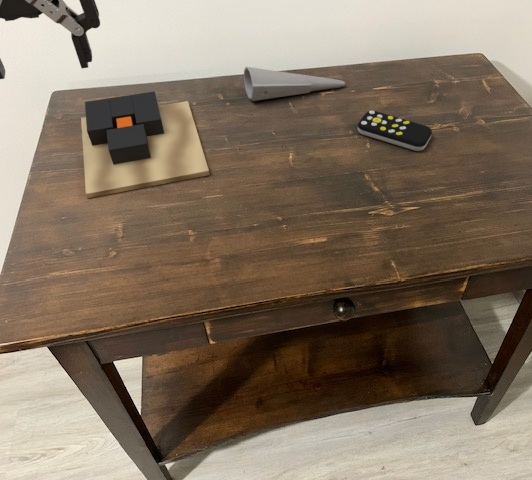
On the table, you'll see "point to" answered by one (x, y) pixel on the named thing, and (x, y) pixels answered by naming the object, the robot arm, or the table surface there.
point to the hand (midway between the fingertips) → (44, 70)
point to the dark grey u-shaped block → (122, 115)
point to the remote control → (394, 130)
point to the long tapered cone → (283, 83)
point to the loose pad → (127, 142)
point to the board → (152, 169)
